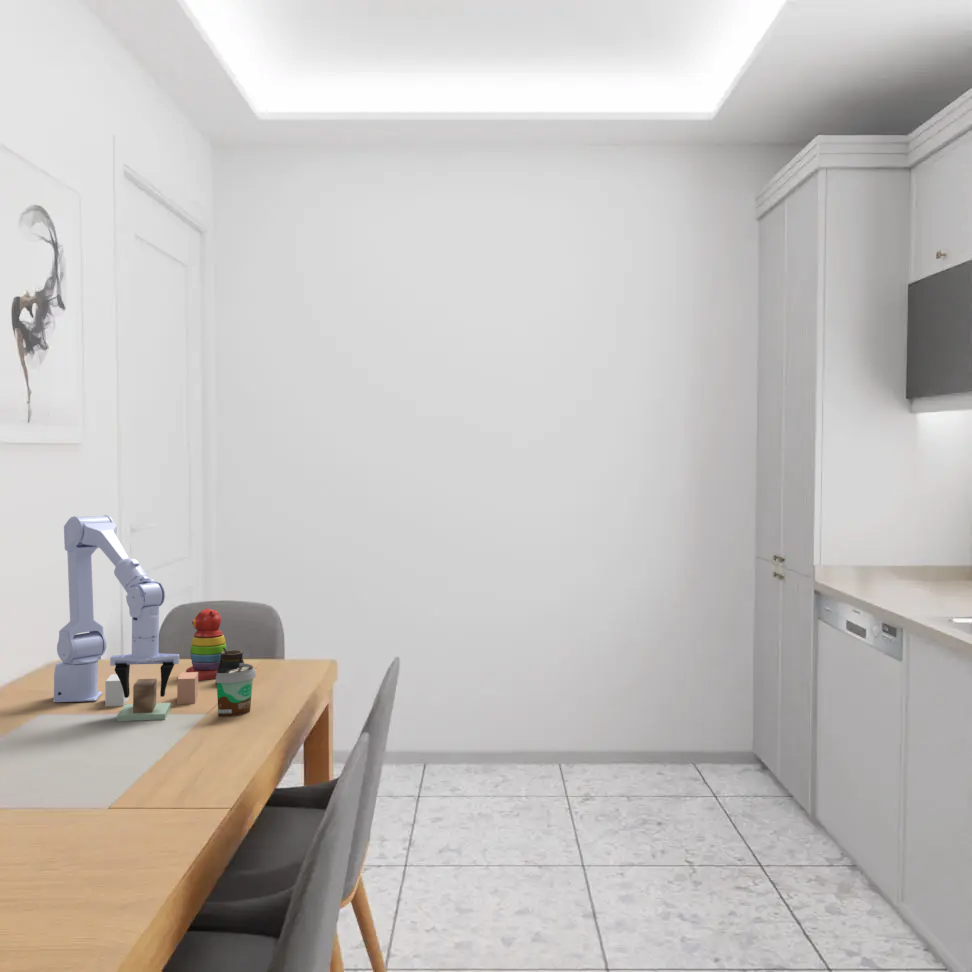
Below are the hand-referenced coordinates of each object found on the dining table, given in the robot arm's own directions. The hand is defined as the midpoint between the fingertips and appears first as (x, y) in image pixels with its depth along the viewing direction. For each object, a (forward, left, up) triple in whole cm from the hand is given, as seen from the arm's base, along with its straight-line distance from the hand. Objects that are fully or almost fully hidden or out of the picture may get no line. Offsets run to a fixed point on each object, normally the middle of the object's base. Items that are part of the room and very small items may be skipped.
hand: (144, 696), depth 209 cm
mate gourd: (+17, +29, -4) cm, 34 cm away
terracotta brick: (+8, +12, -4) cm, 15 cm away
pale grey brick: (-8, +12, -4) cm, 15 cm away
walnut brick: (0, 0, -3) cm, 3 cm away
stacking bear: (+10, +38, -4) cm, 40 cm away
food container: (+21, -1, -4) cm, 21 cm away
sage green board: (0, 0, -4) cm, 4 cm away
